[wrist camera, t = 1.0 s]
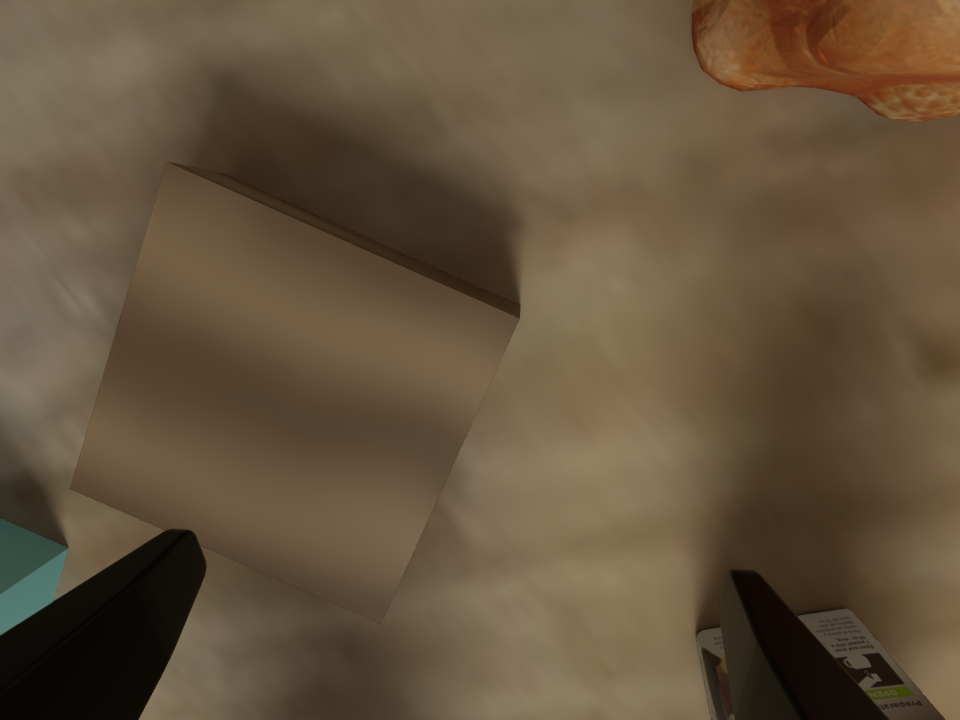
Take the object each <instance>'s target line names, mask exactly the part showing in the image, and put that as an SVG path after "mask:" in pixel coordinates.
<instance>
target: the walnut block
mask: <svg viewBox="0 0 960 720" xmlns="http://www.w3.org/2000/svg"><path fill="white" fill-rule="evenodd" d="M519 319H520V305H517V304H515V303H513V302H511V301H508V300H506V299H504V298H502V297H499V296H497V295H495V294H493V293H490V292H488V291H486V290H484V289H481V288H479V287H477V286H475V285H472V284H470V283H468V282H466V281H463V280H461V279H459V278H457V277H454V276H452V275H450V274H448V273H445V272H443V271H441V270H439V269H436V268H434V267H432V266H430V265H427V264H425V263H423V262H421V261H418V260H416V259H414V258H412V257H409V256H407V255H405V254H403V253H400V252H398V251H396V250H394V249H391V248H389V247H387V246H385V245H382V244H380V243H378V242H376V241H373V240H371V239H369V238H367V237H364V236H362V235H360V234H358V233H355V232H353V231H351V230H349V229H346V228H344V227H342V226H340V225H337V224H335V223H333V222H331V221H328V220H326V219H324V218H322V217H319V216H317V215H315V214H313V213H310V212H308V211H306V210H304V209H301V208H299V207H297V206H295V205H292V204H290V203H288V202H286V201H283V200H281V199H279V198H277V197H274V196H272V195H270V194H268V193H265V192H263V191H261V190H259V189H256V188H254V187H252V186H250V185H247V184H245V183H243V182H241V181H238V180H236V179H234V178H232V177H229V176H227V175H225V174H221V173H216V172H212V171H207V170H203V169H198V168H193V167H189V166H184V165H179V164H175V163H170V162H166V164H165V168H164V171H163V174H162V178H161V181H160V185H159V188H158V191H157V195H156V198H155V201H154V205H153V208H152V212H151V215H150V218H149V222H148V225H147V229H146V232H145V235H144V239H143V242H142V246H141V249H140V252H139V256H138V259H137V262H136V266H135V269H134V273H133V276H132V279H131V283H130V286H129V290H128V293H127V296H126V300H125V303H124V306H123V310H122V313H121V317H120V320H119V323H118V327H117V330H116V334H115V337H114V340H113V344H112V347H111V351H110V354H109V357H108V361H107V364H106V367H105V371H104V374H103V378H102V381H101V384H100V388H99V391H98V395H97V398H96V401H95V405H94V408H93V411H92V415H91V418H90V422H89V425H88V428H87V432H86V435H85V439H84V442H83V445H82V449H81V452H80V456H79V459H78V462H77V466H76V469H75V472H74V476H73V479H72V483H71V486H70V489H71V490H74V491H76V492H78V493H80V494H83V495H85V496H87V497H90V498H92V499H94V500H97V501H99V502H101V503H103V504H106V505H108V506H110V507H113V508H115V509H117V510H120V511H122V512H124V513H126V514H129V515H131V516H133V517H136V518H138V519H140V520H142V521H145V522H147V523H149V524H152V525H154V526H156V527H159V528H161V529H163V530H165V531H166V530H168V529H188V530H192V531H193V532H194V533H195V534H196V536H197V539H198V542H199V544H200V546H202V547H204V548H207V549H209V550H211V551H214V552H216V553H218V554H221V555H223V556H225V557H227V558H230V559H232V560H234V561H237V562H239V563H241V564H244V565H246V566H248V567H250V568H253V569H255V570H257V571H260V572H262V573H264V574H266V575H269V576H271V577H273V578H276V579H278V580H280V581H283V582H285V583H287V584H289V585H292V586H294V587H296V588H299V589H301V590H303V591H306V592H308V593H310V594H312V595H315V596H317V597H319V598H322V599H324V600H326V601H329V602H331V603H333V604H335V605H338V606H340V607H342V608H345V609H347V610H349V611H351V612H354V613H356V614H358V615H361V616H363V617H365V618H368V619H370V620H372V621H374V622H377V623H379V624H381V622H382V620H383V618H384V616H385V614H386V611H387V609H388V607H389V605H390V603H391V600H392V598H393V596H394V594H395V592H396V589H397V587H398V585H399V583H400V581H401V578H402V576H403V574H404V572H405V570H406V567H407V565H408V563H409V561H410V559H411V556H412V554H413V552H414V550H415V548H416V545H417V543H418V541H419V539H420V537H421V534H422V532H423V530H424V528H425V526H426V523H427V521H428V519H429V517H430V515H431V512H432V510H433V508H434V506H435V504H436V501H437V499H438V497H439V495H440V493H441V490H442V488H443V486H444V484H445V482H446V479H447V477H448V475H449V473H450V471H451V468H452V466H453V464H454V462H455V460H456V457H457V455H458V453H459V451H460V449H461V446H462V444H463V442H464V440H465V438H466V435H467V433H468V431H469V429H470V427H471V424H472V422H473V420H474V418H475V416H476V413H477V411H478V409H479V407H480V405H481V402H482V400H483V398H484V396H485V394H486V391H487V389H488V387H489V385H490V383H491V380H492V378H493V376H494V374H495V372H496V369H497V367H498V365H499V363H500V361H501V358H502V356H503V354H504V352H505V350H506V347H507V345H508V343H509V341H510V339H511V336H512V334H513V332H514V330H515V328H516V325H517V323H518V321H519Z"/></svg>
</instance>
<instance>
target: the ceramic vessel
mask: <svg viewBox="0 0 960 720" xmlns="http://www.w3.org/2000/svg"><path fill="white" fill-rule="evenodd" d="M692 38H693V46H694V51H695V54H696V56H697V59H698V62H699V64H700V67H701V69H702V70H703V71H704V72H706V73H707V74H708V75H710V76H711V77H712V78H713V79H715V80H716V81H717V82H719V83H720V84H722V85H725V86H728V87H731V88H733V89H736V90H739V91H749V90H767V89H774V88H781V87H788V86H798V87H813V88H819V89H824V90H829V91H834V92H839V93H844V94H848V95H852V96H855V97H857V98H858V99H859V100H861V101H862V102H863V103H864V104H865V105H867V106H868V107H869V108H870V109H871V110H873V111H874V112H875V113H876V114H878V115H881V116H883V117H886V118H891V119H898V120H906V121H914V122H922V121H927V120H932V119H937V118H943V117H950V116H954V115H958V114H960V0H694V5H693V13H692Z"/></svg>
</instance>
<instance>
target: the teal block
mask: <svg viewBox="0 0 960 720" xmlns="http://www.w3.org/2000/svg"><path fill="white" fill-rule="evenodd" d="M68 549H69V548H68V547H66V546H63V545H61V544H59V543H56V542H54V541H52V540H49V539H47V538H45V537H42V536H40V535H38V534H35V533H33V532H31V531H29V530H26V529H24V528H22V527H19V526H17V525H15V524H12V523H10V522H8V521H5V520H3V519H1V518H0V635H1V634H3V633H4V632H6V631H7V630H9V629H11V628H12V627H14V626H15V625H17V624H19V623H20V622H22V621H23V620H25V619H26V618H28V617H30V616H31V615H33V614H34V613H36V612H38V611H39V610H41V609H42V608H44V607H45V606H47V605H49V604H50V603H52V602H53V599H54V595H55V592H56V589H57V585H58V582H59V579H60V575H61V572H62V569H63V565H64V562H65V559H66V555H67V552H68Z"/></svg>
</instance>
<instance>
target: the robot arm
mask: <svg viewBox="0 0 960 720" xmlns="http://www.w3.org/2000/svg"><path fill="white" fill-rule="evenodd" d="M205 573H206V560H205V557H204V555H203V552H202V549H201V547H200V544H199V542H198V539H197V536H196V534H195V533H194V532H193V531H192V530H188V529H168V530H166V531H164V532H162V533H161V534H159V535H158V536H156V537H154V538H153V539H151V540H150V541H148V542H147V543H145V544H143V545H142V546H140V547H139V548H137V549H135V550H134V551H132V552H131V553H129V554H128V555H126V556H124V557H123V558H121V559H120V560H118V561H117V562H115V563H113V564H112V565H110V566H109V567H107V568H105V569H104V570H102V571H101V572H99V573H98V574H96V575H94V576H93V577H91V578H90V579H88V580H87V581H85V582H83V583H82V584H80V585H79V586H77V587H75V588H74V589H72V590H71V591H69V592H68V593H66V594H64V595H63V596H61V597H60V598H58V599H56V600H55V601H53V602H52V603H50V604H49V605H47V606H45V607H44V608H42V609H41V610H39V611H38V612H36V613H34V614H33V615H31V616H30V617H28V618H26V619H25V620H23V621H22V622H20V623H19V624H17V625H15V626H14V627H12V628H11V629H9V630H7V631H6V632H4V633H3V634H1V635H0V720H139V718H140V716H141V714H142V712H143V710H144V708H145V706H146V704H147V703H148V701H149V699H150V697H151V695H152V693H153V691H154V689H155V687H156V686H157V684H158V682H159V680H160V678H161V676H162V674H163V672H164V670H165V668H166V666H167V664H168V662H169V660H170V658H171V656H172V654H173V651H174V649H175V647H176V645H177V642H178V640H179V637H180V635H181V632H182V630H183V628H184V625H185V623H186V620H187V618H188V616H189V613H190V611H191V608H192V606H193V603H194V601H195V599H196V596H197V594H198V591H199V589H200V587H201V584H202V582H203V579H204V577H205ZM719 619H720V626H721V633H722V640H723V646H724V653H725V660H726V667H727V674H728V680H729V687H730V694H731V701H732V707H733V713H734V719H735V720H890V719H889V718H888V717H887V716H886V715H885V714H884V713H883V711H882V710H881V709H880V708H879V707H878V706H877V705H876V704H875V703H874V701H873V700H872V699H871V698H870V697H869V696H868V695H867V694H866V692H865V691H864V690H863V689H862V688H861V687H860V686H859V685H858V684H857V682H856V681H855V680H854V679H853V678H852V677H851V676H850V675H849V673H848V672H847V671H846V670H845V669H844V668H843V667H842V666H841V664H840V663H839V662H838V661H837V660H836V659H835V658H834V657H833V656H832V654H831V653H830V652H829V651H828V650H827V649H826V648H825V647H824V645H823V644H822V643H821V642H820V641H819V640H818V639H817V638H816V637H815V635H814V634H813V633H812V632H811V631H810V630H809V629H808V628H807V626H806V625H805V624H804V623H803V622H802V621H801V620H800V619H799V618H798V616H797V615H796V614H795V613H794V612H793V611H792V610H791V609H790V607H789V606H788V605H787V604H786V603H785V602H784V601H783V600H782V599H781V597H780V596H779V595H778V594H777V593H776V592H775V591H774V590H773V588H772V587H771V586H770V585H769V584H768V583H767V582H766V581H765V580H764V578H763V577H762V576H761V575H760V574H759V573H757V572H756V571H753V570H743V569H730V570H728V572H727V574H726V577H725V581H724V586H723V590H722V594H721V599H720V603H719Z"/></svg>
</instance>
